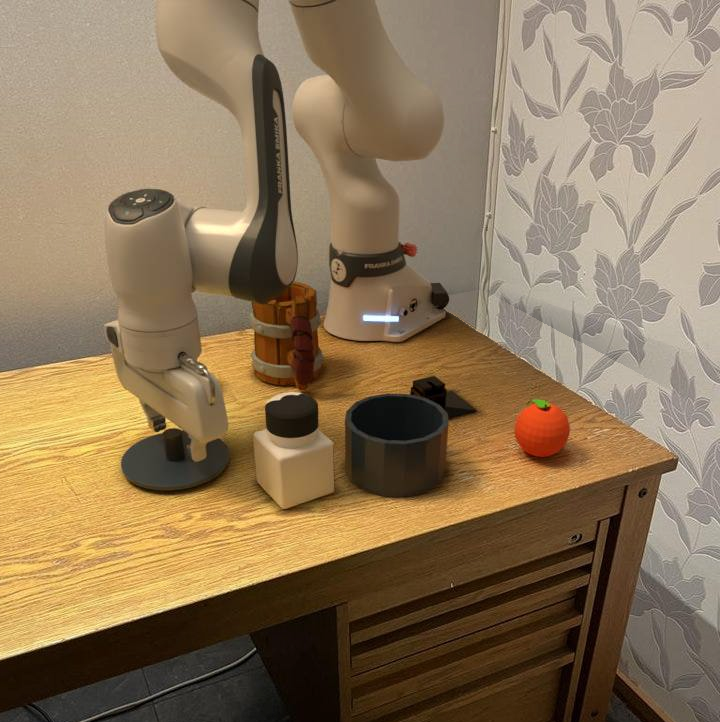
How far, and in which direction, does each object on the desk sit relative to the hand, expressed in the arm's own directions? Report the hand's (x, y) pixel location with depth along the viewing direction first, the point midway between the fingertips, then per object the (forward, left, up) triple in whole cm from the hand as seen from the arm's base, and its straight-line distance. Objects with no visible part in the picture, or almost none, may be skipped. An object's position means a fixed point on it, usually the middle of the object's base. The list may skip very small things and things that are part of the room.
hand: (177, 443), depth 100 cm
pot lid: (+1, 0, -2) cm, 2 cm away
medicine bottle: (-8, +14, -3) cm, 16 cm away
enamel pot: (-20, +19, -3) cm, 28 cm away
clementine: (-37, +28, -3) cm, 46 cm away
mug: (-26, -10, -3) cm, 28 cm away
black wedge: (-34, +11, -3) cm, 36 cm away
